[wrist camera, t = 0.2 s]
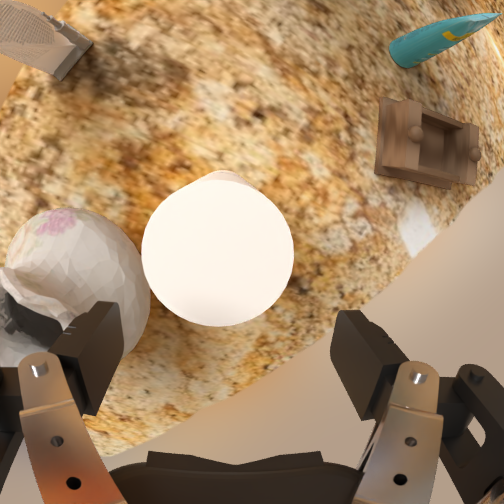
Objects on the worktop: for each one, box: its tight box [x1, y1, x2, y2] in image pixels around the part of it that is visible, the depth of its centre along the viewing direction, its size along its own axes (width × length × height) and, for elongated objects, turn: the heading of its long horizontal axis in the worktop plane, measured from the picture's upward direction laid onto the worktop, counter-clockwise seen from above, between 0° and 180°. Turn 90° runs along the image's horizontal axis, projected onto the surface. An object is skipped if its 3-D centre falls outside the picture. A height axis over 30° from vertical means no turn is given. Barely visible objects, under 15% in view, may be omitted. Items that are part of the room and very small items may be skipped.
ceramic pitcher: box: [0, 208, 150, 367], centre depth 28 cm, size 22×20×25 cm
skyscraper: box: [0, 0, 93, 81], centre depth 16 cm, size 8×8×28 cm
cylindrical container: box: [142, 170, 294, 327], centre depth 26 cm, size 7×7×25 cm
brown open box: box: [374, 97, 481, 190], centre depth 34 cm, size 11×14×8 cm
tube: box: [389, 13, 502, 68], centre depth 24 cm, size 7×5×19 cm, turn 128°
